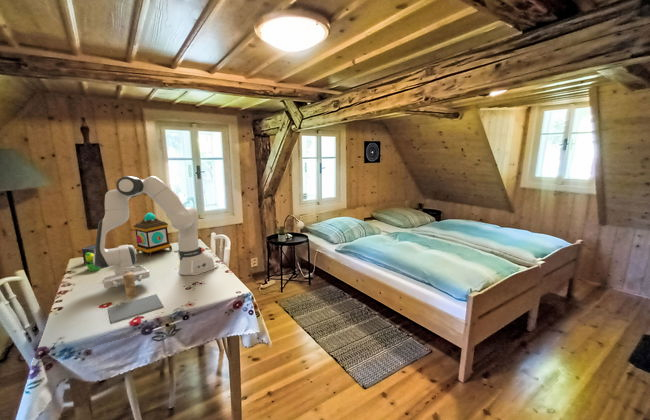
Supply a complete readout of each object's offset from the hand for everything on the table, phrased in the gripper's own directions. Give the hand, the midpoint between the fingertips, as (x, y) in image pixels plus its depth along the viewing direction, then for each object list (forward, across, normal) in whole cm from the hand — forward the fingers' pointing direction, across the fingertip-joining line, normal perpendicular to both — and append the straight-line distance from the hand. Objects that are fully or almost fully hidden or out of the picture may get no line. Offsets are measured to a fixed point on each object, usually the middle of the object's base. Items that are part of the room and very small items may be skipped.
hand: (128, 282), depth 147 cm
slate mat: (+18, 0, +7) cm, 19 cm away
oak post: (+2, 0, +7) cm, 7 cm away
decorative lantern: (-70, +23, +7) cm, 74 cm away
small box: (-77, -12, +7) cm, 78 cm away
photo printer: (-57, +5, +7) cm, 58 cm away
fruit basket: (-59, -12, +7) cm, 61 cm away
